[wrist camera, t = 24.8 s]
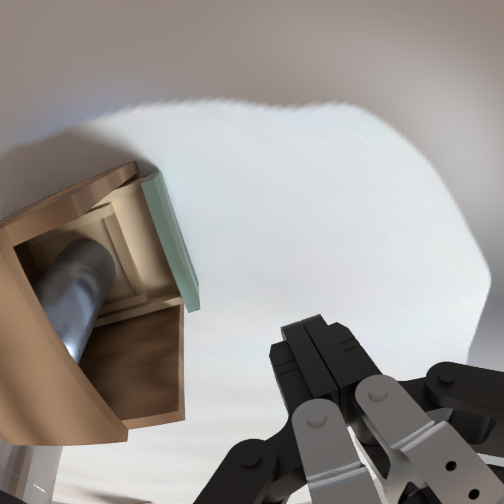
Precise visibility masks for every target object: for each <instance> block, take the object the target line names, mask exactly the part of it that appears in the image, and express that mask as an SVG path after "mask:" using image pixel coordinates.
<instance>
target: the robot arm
mask: <svg viewBox="0 0 504 504" xmlns="http://www.w3.org/2000/svg"><path fill="white" fill-rule="evenodd" d="M281 333H282V337H283V341H282V342H279V343H276V344H272V345H271V349H270V354H269V357H270V361H271V364H272V368H273V371H274V374H275V378H276V381H277V384H278V387H279V390H280V393H281V395H282V398H283V401H284V404H285V406H286V409H287V412H288V415H289V417H288V420H287V423H286V424H285V426H284V427H283V428H282V429H281V430H280V431H279V432H278V433H277V434H275V435H274V436H272V437H270V438H269V439H267V440H266V441H264V440H260V439H248V440H244V441H241V442H239V443H237V444H236V445H235V446H233V447H232V448H231V449H230V451H229V452H228V454H227V455H226V457H225V458H224V460H223V461H222V463H221V464H220V466H219V467H218V469H217V470H216V472H215V473H214V474H213V476H212V477H211V479H210V480H209V482H208V483H207V485H206V486H205V487H204V489H203V490H202V492H201V493H200V494H199V496H198V497H197V499H196V500H195V501H194V503H193V504H286V503H287V501H288V499H289V497H290V495H291V494H292V493H294V492H295V491H297V490H298V489H300V488H301V487H303V486H304V485H306V484H308V488H309V492H310V496H311V499H312V503H313V504H382V503H381V500H380V497H379V495H378V492H377V490H376V487H375V485H374V482H373V480H372V477H371V475H370V473H369V470H368V469H367V467H366V466H365V465H364V464H362V463H361V461H360V459H359V456H358V454H357V451H356V449H355V446H354V444H353V441H352V439H351V436H350V434H349V431H348V429H347V427H349V426H351V427H352V429H353V431H354V433H355V443H356V445H357V446H358V448H359V449H360V451H361V453H362V454H363V456H364V457H365V459H366V460H367V462H368V463H369V465H370V467H371V468H372V470H373V471H374V473H375V474H376V476H377V477H378V479H379V481H380V482H381V484H382V487H383V491H384V494H385V497H386V499H387V501H388V502H389V504H504V467H501V466H497V465H491V464H485V463H484V461H483V460H482V459H481V458H480V457H479V456H478V455H477V453H480V454H486V455H491V456H497V457H502V458H504V372H500V371H495V370H489V369H484V368H478V367H473V366H468V365H463V364H459V363H454V362H440V363H437V364H435V365H434V366H432V367H431V368H430V369H429V370H428V372H427V374H426V377H423V378H418V379H413V380H408V381H396V380H395V379H394V378H392V377H390V376H387V375H383V374H382V373H381V372H380V370H379V369H378V368H377V366H376V365H375V363H374V362H373V361H372V359H371V358H370V357H369V355H368V354H367V353H366V351H365V350H364V349H363V347H362V346H361V345H360V343H359V342H358V341H357V339H355V337H354V335H353V334H352V333H351V331H350V330H349V329H348V328H347V327H345V326H343V325H341V324H340V323H338V322H336V323H333V324H331V325H327V323H326V322H325V320H324V319H323V318H322V316H321V315H320V314H318V315H315V316H312V317H310V318H307V319H304V320H301V322H300V321H298V322H295V323H292V324H289V325H286V326H283V327H281ZM62 448H63V446H29V445H9V444H7V443H6V442H5V441H4V440H3V439H2V438H1V437H0V504H51V503H52V496H53V490H54V485H55V480H56V475H57V470H58V465H59V461H60V456H61V452H62Z"/></svg>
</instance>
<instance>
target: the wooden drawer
mask: <svg viewBox="0 0 504 504" xmlns="http://www.w3.org/2000/svg"><path fill="white" fill-rule="evenodd" d="M78 239H91V240H94V241H97V242H98V243H100V244H102V245H103V246H104V247H105V248H106V249H107V250H108V251H109V253H110V254H111V256H112V258H113V260H114V263H115V269H116V273H115V278H114V281H113V283H112V285H111V287H110V289H109V292H108V294H107V296H106V298H105V301H104V303H103V305H102V307H101V310H100V312H99V314H98V317H97V319H96V321H95V324H94V326H93V328H95V327H98V326H102V325H106V324H110V323H114V322H117V321H121V320H125V319H128V318H132V317H136V316H139V315H143V314H147V313H150V312H154V311H157V310H161V309H165V308H168V307H172V306H175V305H179V304H182V303H185V306H186V308H187V310H188V313H190V312H193V311H197V310H200V301H199V284H198V279H197V277H196V274H195V271H194V268H193V265H192V263H191V260H190V257H189V254H188V251H187V248H186V245H185V243H184V240H183V237H182V234H181V231H180V228H179V225H178V222H177V219H176V216H175V213H174V210H173V206H172V203H171V200H170V197H169V194H168V191H167V188H166V184H165V181H164V178H163V175H162V171H158V172H155V173H152V174H150V175H149V176H146V177H143V178H140V179H137V180H134V181H132V182H129V183H126V184H123V185H121V186H119V187H117V188H116V189H115V190H113V191H112V192H111V193H110V194H108V195H107V196H106V197H105V198H103V199H102V200H101V201H99V202H98V203H97V204H96V205H95V206H93V207H92V208H91V209H90V210H88V211H87V212H86V213H85V214H84V215H82V216H81V217H80V218H79V219H76V220H74V221H71V222H69V223H66V224H64V225H61V226H59V227H57V228H54V229H52V230H50V231H47V232H45V233H43V234H40V235H38V236H36V237H33V238H31V239H29V240H27V241H25V242H22V243H20V244H18V245H16V246H14V247H13V249H14V251H15V253H16V256H17V258H18V260H19V262H20V264H21V267H22V269H23V271H24V273H25V275H26V277H27V279H28V281H29V283H30V285H32V284H33V283H34V282H35V281H36V280H37V278H38V277H39V276H40V275H41V274H42V273H43V272H44V271H45V269H46V268H47V267H48V266H49V265H50V264H51V263H52V262H53V261H54V260H55V258H56V257H57V256H58V255H59V254H60V253H61V252H62V251H63V250H64V249H65V248H66V247H67V246H68V245H69V244H70V243H71V242H73V241H75V240H78Z"/></svg>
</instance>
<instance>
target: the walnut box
mask: <svg viewBox="0 0 504 504" xmlns="http://www.w3.org/2000/svg"><path fill="white" fill-rule="evenodd" d="M137 179H140V175H139V172H138V169H137V165H136V162H135V161H134V162H131V163H128V164H126V165H123V166H120V167H118V168H115V169H112V170H110V171H107V172H105V173H102V174H100V175H97V176H95V177H92V178H90V179H87V180H85V181H82V182H80V183H78V184H75V185H73V186H71V187H68V188H66V189H64V190H62V191H59V192H57V193H55V194H53V195H51V196H49V197H46V198H44V199H42V200H40V201H38V202H36V203H34V204H32V205H30V206H28V207H26V208H24V209H22V210H20V211H18V212H16V213H14V214H12V215H10V216H8V217H6V218H5V219H3V220H1V221H0V437H1V438H2V439H3V440H4V441H5V442H6V443H7V444H9V445H29V446H72V445H92V444H106V443H117V442H127V438H128V429H136V428H143V427H149V426H155V425H161V424H167V423H173V422H178V421H183V420H185V401H184V303H182V304H179V305H175V306H172V307H168V308H165V309H161V310H157V311H154V312H150V313H147V314H143V315H139V316H136V317H132V318H128V319H125V320H121V321H117V322H114V323H110V324H106V325H102V326H98V327H95V328H92V331H91V333H90V336H89V338H88V341H87V343H86V346H85V348H84V351H83V354H82V356H81V359H80V361H79V364H77V363H76V361H75V360H74V359H73V357H72V356H71V354H70V353H69V351H68V349H67V348H66V346H65V345H64V343H63V342H62V340H61V338H60V337H59V335H58V334H57V332H56V330H55V329H54V327H53V325H52V324H51V322H50V320H49V318H48V317H47V315H46V313H45V311H44V310H43V308H42V306H41V304H40V302H39V301H38V299H37V297H36V295H35V293H34V291H33V289H32V287H31V285H30V283H29V281H28V279H27V277H26V275H25V273H24V271H23V269H22V267H21V264H20V262H19V260H18V258H17V256H16V253H15V251H14V249H13V247H14V246H16V245H18V244H20V243H22V242H25V241H27V240H29V239H31V238H33V237H36V236H38V235H40V234H43V233H45V232H47V231H50V230H52V229H54V228H57V227H59V226H61V225H64V224H66V223H69V222H71V221H74V220H76V219H79V218H80V217H81V216H82V215H84V214H85V213H86V212H87V211H88V210H90V209H91V208H92V207H93V206H95V205H96V204H97V203H98V202H99V201H101V200H102V199H103V198H105V197H106V196H107V195H108V194H110V193H111V192H112V191H113V190H115V189H116V188H117V187H119V186H121V185H123V184H126V183H129V182H132V181H134V180H137Z"/></svg>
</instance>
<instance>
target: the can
mask: <svg viewBox="0 0 504 504" xmlns="http://www.w3.org/2000/svg"><path fill="white" fill-rule="evenodd" d="M115 273H116V269H115V263H114V260H113V258H112V256H111V254H110V253H109V251H108V250H107V249H106V248H105V247H104V246H103V245H102V244H100V243H98V242H97V241H94V240H91V239H78V240H75V241H73V242H71V243H70V244H69V245H68V246H67V247H66V248H65V249H64V250H63V251H62V252H61V253H60V254H59V255H58V256H57V257H56V258H55V260H54V261H53V262H52V263H51V264H50V265H49V266H48V267H47V268H46V269H45V271H44V272H43V273H42V274H41V275H40V276H39V277H38V278H37V280H36V281H35V282H34V283H33V284H32V285H31V287H32V289H33V291H34V293H35V295H36V297H37V299H38V301H39V302H40V304H41V306H42V308H43V310H44V311H45V313H46V315H47V317H48V318H49V320H50V322H51V324H52V325H53V327H54V329H55V330H56V332H57V334H58V335H59V337H60V338H61V340H62V342H63V343H64V345H65V346H66V348H67V349H68V351H69V353H70V354H71V356H72V357H73V359H74V360H75V361H76V363H77V364H79V361H80V359H81V356H82V354H83V351H84V348H85V346H86V343H87V341H88V338H89V336H90V333H91V331H92V328H93V326H94V324H95V321H96V319H97V317H98V314H99V312H100V310H101V307H102V305H103V303H104V301H105V298H106V296H107V294H108V292H109V289H110V287H111V285H112V283H113V281H114V278H115Z"/></svg>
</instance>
